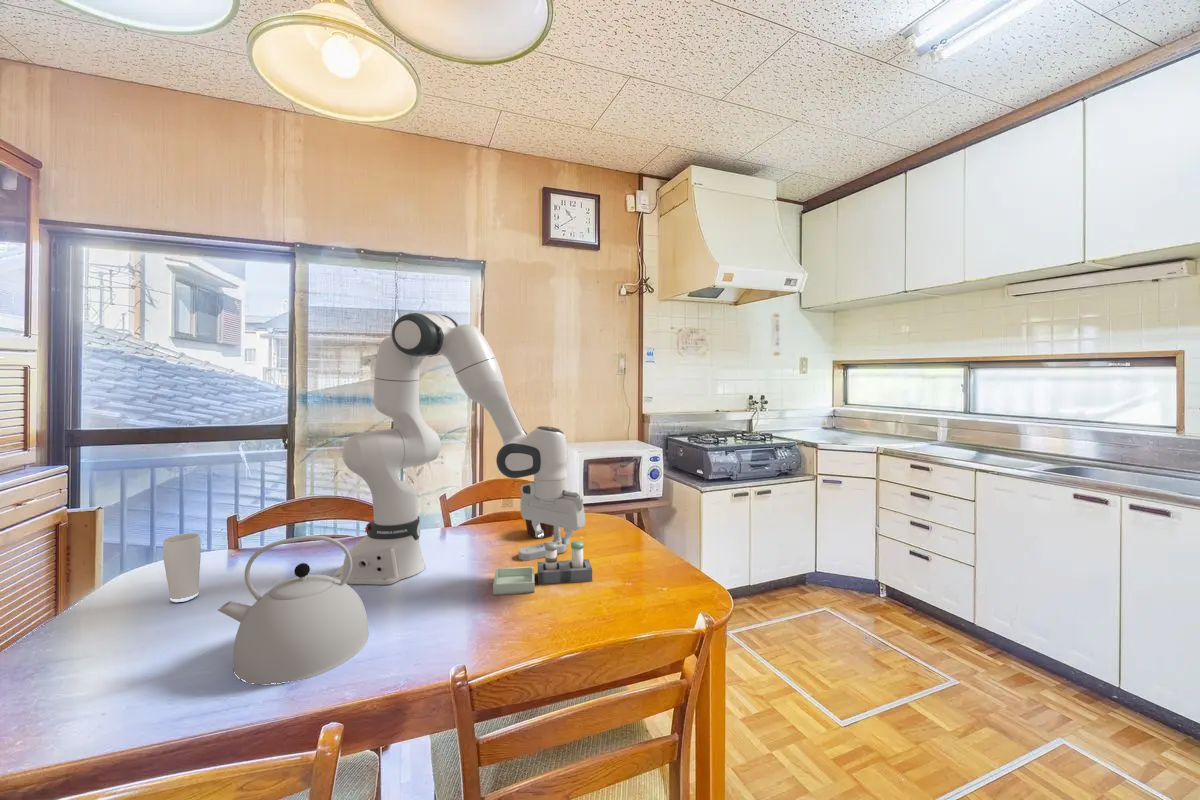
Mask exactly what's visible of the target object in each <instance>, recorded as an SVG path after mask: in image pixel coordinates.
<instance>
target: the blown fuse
mask: <svg viewBox="0 0 1200 800" xmlns="http://www.w3.org/2000/svg"><path fill="white" fill-rule="evenodd" d="M547 542H548V543H546V542H544V543H545V557H544V559H545V560H544V562H545V570H556V569H557V561H558V554H557V548H558V544H557V543H555V542H550V541H547Z"/></svg>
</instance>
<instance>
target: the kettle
mask: <svg viewBox="0 0 1200 800" xmlns="http://www.w3.org/2000/svg"><path fill="white" fill-rule="evenodd" d="M302 541H323V542H329V543H331V544H333V545H336V546H337V547H338V548H340V549H341V550H342V551H343V553H344V554H345V556H346V557H347V560H348V569H347V572H346V575H345V576H344V578H343V579H342V581H340V580H338V579H336V578H334V576H333V577H332V576H330V575H328V574H319V573H317V574H316V573H314V574H309V573H310V570H311V567H310V565H309V563H305V562H301V563H299V564H297V565H296V566H295V567H294V575H295V576H296V577H292V578H289V579H287V580H285V581H282V582H280V583H278V584H276V585H275V586H274V587H273V588H271V589H270V590H269V591H267V592H266V593H264V594H263V595H262V596H261V595H260V594H259V593H258V591H257V590H256V588H255V587H254V586H253V583H252V582H251V575H250V573H251V568H252V566H253V563H254V561H255V560H256V559H257V558H258V557H259V556H260V555H261V554H262V553H264V552H266V551H267V550H270V549H272V548H274V547H277V546H281V545H285V544H289V543H296V542H302ZM351 571H352V558H351V555H350V553H349V549H348V548H347V546H346V545H344V544H343V543H342V542H340V541H339V540H337V539H336V538H333V537H329V536H324V535H304V536H303V535H302V536H295V537H291V538H290V537H289V538H285V539H281V540H280V539H279V540H277V541H274V542H271V543H268V544H266V545H264V546H263V547H261V548H260V549H258V550H257V551H255V552H254V554H253V555H252V556H251V557H249V559H248V561H247V563H246V565H245V569H244V582H245V586H246V587H247V589H248V591H249V592H250V594H251V595H252V597H253V598H254V599H255V600H256V601H255V602H254V603H253V604H252V605H248V604H245V603H240V602H235V601H232V600H231V601H228V602H226V603H225V604H223V605H221V606H220V607H219V608H218V609H217V612H219V613H222V614H223V615H225V616H227V617H229V618H231V619H233V620H235V621H236V622H239V626H238V628H237V631H236V635H235V638H234V644H233V654H232V656H233V659H232V660H233V662H232V663H233V665H232V668H233V667H234V672H235V674H236V675H237V676H238V677H239V678H240V679H243V680H245V681H246V682H248V683H254V684H271V683H276V684H277V683H282V682H288V681H289V682H291V681H297V680H301V681H304V680H303V679H305V680H307V679H311V678H314V677H317V676H320V675H322V674H325V673H327V672H329V671H331V670H334V669H335V668H337V666H338V667H340V666H341V665H342V664H344V663H346V662H348V661H349V660H351V659H352V658H354V657H355V656H356V655H357V654H359V652H360V651H362V649H363V648H364V647H365V646H366V644H367V643H368V640H369V636H370V635H369V626H368V624H369V623H368V617H367V616H368V614H367V611H366V608H365V604H364V603H363V602H364V601H363V600H362V598H361V596H360V595H359V594H358V592H356V590H354V589H353V588H352V586H351V585H350V584H346V583H345V582H346V581H347V579H348V578H349V576H350V574H351ZM297 682H298V681H297ZM248 683H247V684H248Z"/></svg>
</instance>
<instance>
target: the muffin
mask: <svg viewBox="0 0 1200 800" xmlns="http://www.w3.org/2000/svg"><path fill="white" fill-rule="evenodd" d="M524 520H525V525H526V531H527V536H529V538H533V539H538V538H537V537H536V536H535V530H534V528H533V526H532V520H527V519H524ZM540 526H541V529H542V530H544V533H543V534H544V536H543V537H542V538H541V539H547V538H551V537H552V536H554V526H553V525H549V524H544V523H540Z"/></svg>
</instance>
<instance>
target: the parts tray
mask: <svg viewBox="0 0 1200 800" xmlns="http://www.w3.org/2000/svg"><path fill="white" fill-rule="evenodd" d="M535 583H536V581H535V566H532V565H531V566H519V567H502V568H495V572H494V577H493V584H492V591H493V592H492V594H493V596H500V595H501V596H502V595H503V596H504V595H515V594H517V595H518V594H519V595H520V594H530V593H531V594H532V593H535V588H536V587H535Z"/></svg>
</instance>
